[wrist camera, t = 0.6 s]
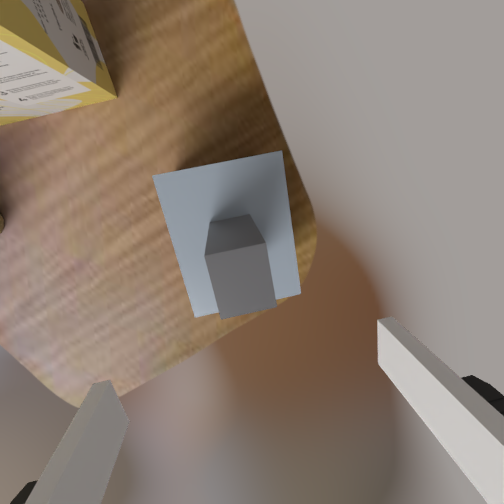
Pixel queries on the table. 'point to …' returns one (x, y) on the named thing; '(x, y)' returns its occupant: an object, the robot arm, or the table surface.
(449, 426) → the robot arm
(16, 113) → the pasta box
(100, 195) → the table surface
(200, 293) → the lid
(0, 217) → the squeeze bottle
